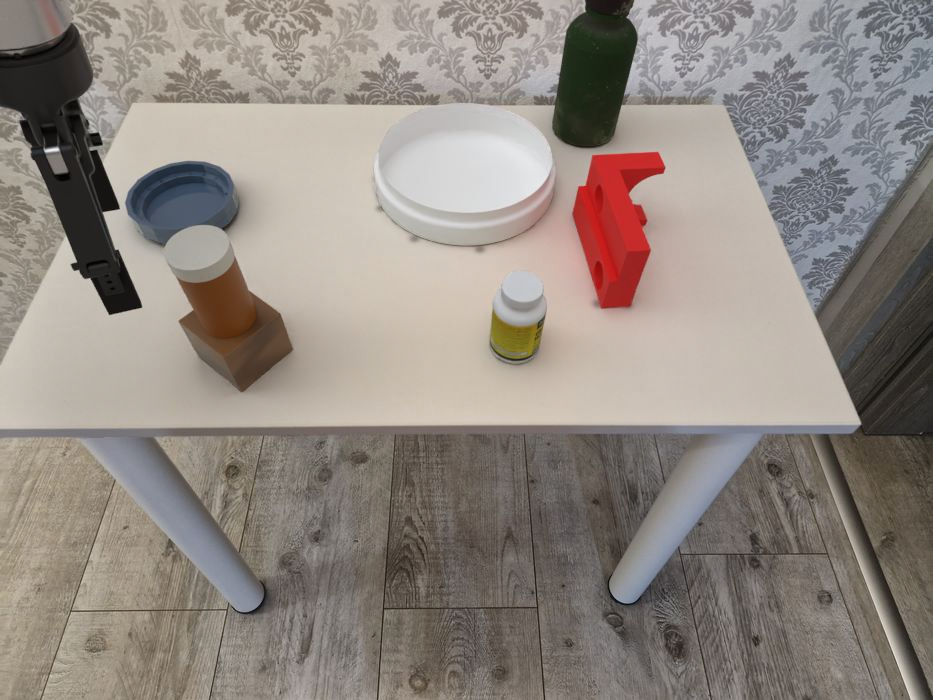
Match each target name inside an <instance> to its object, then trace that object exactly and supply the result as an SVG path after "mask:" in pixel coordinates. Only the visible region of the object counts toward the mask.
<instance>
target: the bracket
mask: <svg viewBox="0 0 933 700" xmlns="http://www.w3.org/2000/svg"><path fill="white" fill-rule="evenodd" d="M666 169H667V167H666V165H665V163H664V160H663V158H662V156H661V154H660V152H659V151H644V152H626V153H625V152H624V153H604V154H603V153H602V154H592V156H591V159H590V165H589V169H588V173H587V176H586V177H587V178H586V181H585V185H578V186H577V190H576V196H575V201H574V206H573V210H572V217H573V221H574V224H575V227H576V230H577V235H578V237H579V239H580V243H581V247H582V250H583V253H584V256H585V261H586V263H587V267H588V269H589V273H590V276H591V280H592V283H593V286H594V289H595V293H596V296H597V299H598V302H599V306H600V309H609V308H611V309H612V308H613V309H614V308H625V307H631V305H632V302H633V299H634V297H635V294H636V292H637V289H638V287H639V284H640V281H641V278H642V276H643V273H644V270H645V267H646V265H647V262H648V259H649V257H650V254H651V251H652V249H651V247H650V244H649V242H648V239H647V237H646V234H645V231H644V229H643V227H644V226H646V225H647V222H648V218H647V216H646V214H645V211H644V209H643V205H642V204H636V203H635V204H634V203H633V201H632V198H631V195H630V193H631V191H632V190H633V189H634V188H635V187H637V185H638V184H640V183H642V182H643V181H644V180H646V179H649V178H651V177H653V176H658V175H663V174H664V173H665V171H666Z"/></svg>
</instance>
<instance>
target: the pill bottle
mask: <svg viewBox="0 0 933 700" xmlns="http://www.w3.org/2000/svg"><path fill="white" fill-rule="evenodd" d="M544 289H545V286H544V282H543V281H542V279H541V278H540V277H539V276H538V275H537V274H535V273H533V272H532V271H528V270H514V271H511V272H509V273H508V274H506V275H505V276H504V278H503V279H502V281H501V284H500V288H499V289H498V290H497V291H496V293H495V295H494V296H493V300H492V308H491V319H490V329H489V348H490V350H491V352H492V353H493V355H494V356H495V357H496V358H497V359H499V360H500V361H502V362H505V363H508V364H513V365H519V364H525V363H527V362H530V360H532V359H533V358H534V357H536V355H537V353H538V351H539V349H540V346H541V345H540V344H541V340H542V334H543V330H544V324H545V321H546V315H547V310H548V303H547V299H546V297H545V295H544V292H545V291H544Z"/></svg>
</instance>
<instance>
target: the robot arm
mask: <svg viewBox="0 0 933 700" xmlns="http://www.w3.org/2000/svg"><path fill="white" fill-rule="evenodd" d="M93 81H94V70H93V67H92V63H91V61H90V59H89V56H88V53H87V50H86V48H85V45H84V42H83V38H82V36H81V33H80V31H79V29H78V27H77V26H76V25H75V24H74V23H73V15H72V11H71V8H70V6H69V3H68V0H0V108H3V109H9V110H13V111H16V112H18V113H20V114H21V116H22V118H23V119H19V121H18V122H19V126H20V129H21V131H22V134H23V137H24V139H25V141H26V142H27V143H28V144H30V157H31V159H32V161H34V163H35V165H36V167H37V168H38V171H39V173H40V175H41V177H42V179H43V181H44V184H45V186H46V189H47V192H48V194H49V196H50V199H51V201H52V204H53V206H54V208H55V211H56V213H57V216H58V219H59V221H60V223H61V227H62V229H63V231H64V234H65V236H66V238H67V241H68V243H69V246H70V249H71V250H72V253H73V255H74V258H75V261H76V262H72V263H70V267H71V269H72V270H73V272H76V271H78V272H79V275H80V276H81V277H82V279H84V280H88V279H90V281H91V282H92V285H93V287H94V289H95V290H96V293H97V294H98V297H99V298H100V300H101V302H102V304H103V306H104V308H105V310H106V312H107V313H108V316H112V315H117V314H121V313H126V312H131V311H134V310H139V309H143V304H142V300H141V299H140V296H139V294H138V292H137V289H136V287H135V284H134V282H133V280H132V277H131V275H130V273H129V271H128V269H127V266H126V264H125V261H124V258H123V256H122V254H121V252H120V249H116V248H115V244H114V242H113V239H112V236H111V233H110V230H109V227H108V224H107V221H106V218H105V215H104V213H106V212H113V211H118V210H121V207H120V202H119V201H118V198H117V196H116V194H115V191H114V188H113V185H112V183H111V181H110V178H109V175H108V173H107V171H106V169H105V166H104V163H103V161H102V158H101V156H100V153H99V151H98V149H92V150H91V148H96V147H103V146H104V143H103V139H102V136H101V134H100V132H99V131H98V132H97V131H96V132H89V130H90V125H91V124H90V121H89V119H87V117H86V115H85V113H84V111H83V109H82V105H81V101H80V97H82V96H83V95H84V94H85V93H87V92H88V91H89V89H90V88H91V86H92V84H93Z"/></svg>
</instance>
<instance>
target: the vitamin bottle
mask: <svg viewBox="0 0 933 700" xmlns="http://www.w3.org/2000/svg"><path fill="white" fill-rule="evenodd" d="M163 258H164V260H165V262H166V264H167V266H168V267H169V269H170V271H171V273H172V274H173V275H174V277H175V279H176V280H177V282H178V284H179V286H180V287H181V289H182V291H183V293H184V295H185V297H186V298H187V301H188V303H189V304H190V306H191V308H192V311H193V310H194V312H195V314H196V316H197V317H198V319H199V321H200V323H201V325H202V327H203V329H204V330H205V331H206V332H207V333H208V334H209V335H211V336H214V337H217V338H231V337H235V336H238V335H240V334H242V333H244V332H245V331H247V330H248V329H249V328H250V327H251V326H252V325H253V323H254V322H255V319H256V316H257V310H256V307H255V304H254V302H253V299H252V297H251V294H250V292H249V291H250V290H249V287H248V285H247V282H246V279H245V277H244V275H243V272H242V270H241V267H240V265H239V262H238V260H237V256H236V255H235V250H234V247H233V245H232V242H231V240H230V237H229V236H228V234H227V233H226V232H225V230H223V228H222V229H220V228H218V227H215V226H211V225H197V226H192V227H188V228H186V229H183V230H181V231H179V232H178V233H176V234H175V235H174V236H172V237H171V238H170V239H169V241H168V242H167V243H166V244H164V247H163Z"/></svg>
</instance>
